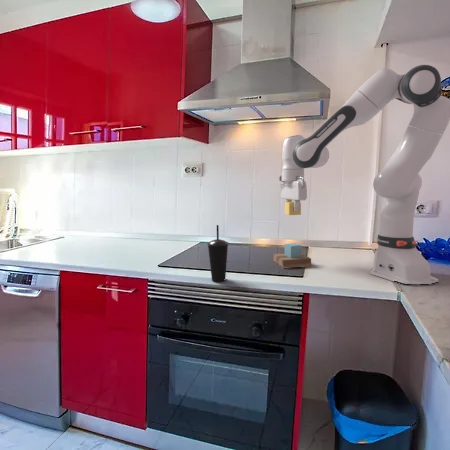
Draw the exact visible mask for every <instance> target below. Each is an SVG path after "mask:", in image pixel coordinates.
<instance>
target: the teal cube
mask: <svg viewBox="0 0 450 450" xmlns="http://www.w3.org/2000/svg"><path fill="white" fill-rule="evenodd" d="M283 251H284V255H285V256H287V257H290V258H296V257H301V254H302V244H299V243H296V242H293V243H284V250H283Z"/></svg>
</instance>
